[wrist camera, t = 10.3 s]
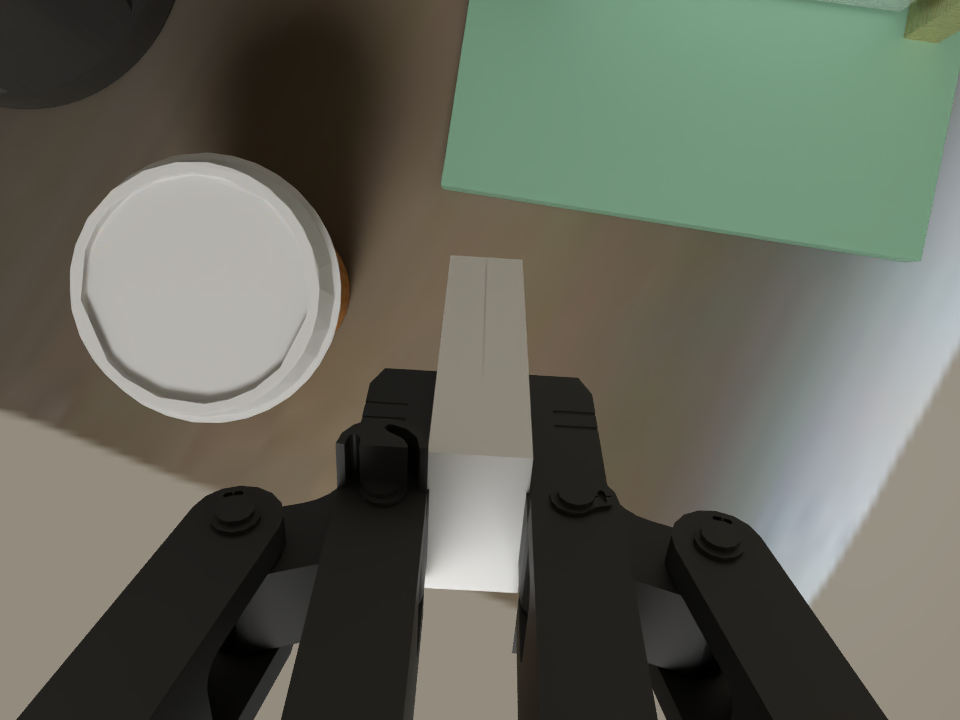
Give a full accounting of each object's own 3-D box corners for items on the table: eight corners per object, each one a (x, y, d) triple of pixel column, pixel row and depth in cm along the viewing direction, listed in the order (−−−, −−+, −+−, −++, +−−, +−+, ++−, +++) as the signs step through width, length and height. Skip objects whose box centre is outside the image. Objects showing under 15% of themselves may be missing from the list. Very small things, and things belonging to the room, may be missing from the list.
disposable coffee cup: (197, 178, 40) (68, 129, 28) (395, 204, 40) (349, 166, 28) (177, 375, 41) (42, 408, 29) (371, 401, 41) (316, 446, 29)
